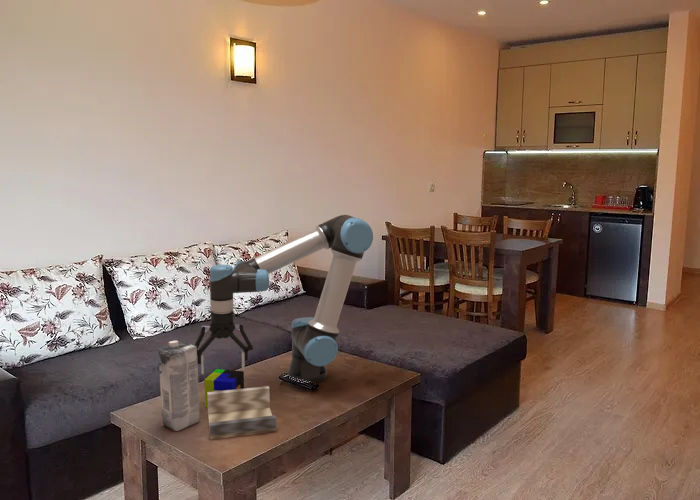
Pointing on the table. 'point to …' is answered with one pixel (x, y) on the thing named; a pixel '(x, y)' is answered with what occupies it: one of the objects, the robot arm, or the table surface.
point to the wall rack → (240, 412)
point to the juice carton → (179, 385)
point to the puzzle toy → (223, 381)
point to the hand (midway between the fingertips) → (223, 371)
